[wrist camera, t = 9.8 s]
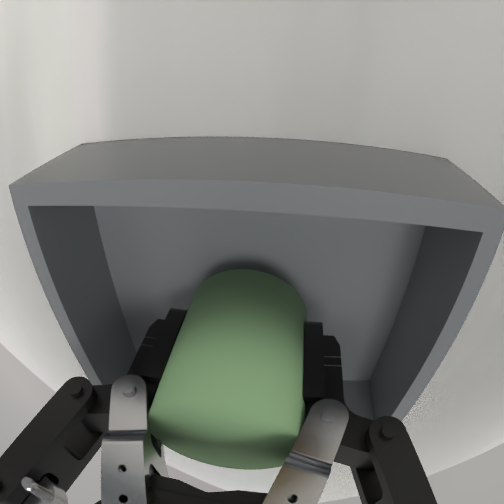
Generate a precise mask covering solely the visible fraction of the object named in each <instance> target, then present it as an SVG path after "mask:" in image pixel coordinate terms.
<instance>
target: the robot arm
mask: <svg viewBox="0 0 504 504" xmlns="http://www.w3.org/2000/svg"><path fill="white" fill-rule="evenodd" d="M187 311H188V310H183V309H175V308H171V309H170V310H169V312H168V314H167V316H166V319H165V320H164V319H157V320H156V321H155V322H154V323H153V324H152V325H151V326H150V327H149V329H148V331H147V333H146V335H145V338H144V339H143V341H142V343H141V346H140V348H139V350H138V352H137V354H136V356H135V358H134V360H133V363H132V365H131V367H130V369H129V371H128V373H127V375H124V376H121V377H119V378H118V379H117V380H116V381H115V382H114V383H113V384H109V385H92V384H91V382H90V381H89V380H88V379H86V378H84V377H74V378H71V379H69V380H68V381H67V382H66V383H65V384H64V385H63V386H62V387H61V388H60V389H59V390H58V391H57V392H56V394H55V395H54V396H53V397H52V398H51V399H50V400H49V401H48V403H47V404H46V405H45V406H44V407H43V408H42V409H41V410H40V412H39V413H38V414H37V415H36V416H35V417H34V418H33V420H32V421H31V422H30V423H29V424H28V426H27V427H26V428H25V429H24V430H23V431H22V432H21V434H20V435H19V436H18V437H17V438H16V439H15V441H14V442H13V443H12V444H11V445H10V447H9V448H8V449H7V450H6V451H5V452H4V454H3V455H2V456H1V457H0V504H68V498H67V495H66V492H67V490H68V489H69V488H70V486H71V485H72V484H73V482H74V481H75V480H76V478H77V477H78V476H79V475H80V473H81V472H82V470H83V469H84V468H85V467H86V465H87V464H88V463H89V461H90V460H91V459H92V457H93V456H94V455H95V454H96V452H97V451H98V450H99V448H100V447H101V446H102V451H101V500H100V501H98V502H97V503H95V504H317V503H318V501H319V498H320V496H321V494H322V492H323V489H324V487H325V485H326V482H327V480H328V477H329V475H330V471H331V466H332V463H333V461H334V462H337V463H341V464H344V465H347V466H350V468H351V471H352V474H353V477H354V480H355V483H356V486H357V489H358V493H359V496H360V499H361V502H362V504H437V502H436V500H435V497H434V494H433V492H432V489H431V487H430V484H429V482H428V480H427V477H426V474H425V472H424V470H423V467H422V465H421V462H420V460H419V458H418V455H417V453H416V451H415V448H414V446H413V444H412V442H411V439H410V437H409V435H408V432H407V430H406V428H405V426H404V424H403V423H402V422H401V421H400V420H399V419H397V418H395V417H392V416H382V417H379V418H377V419H376V420H371V419H368V418H364V417H361V416H358V415H356V414H354V413H353V412H351V411H350V410H349V409H348V407H347V406H346V404H345V401H344V391H343V376H342V362H341V350H340V345H339V343H338V341H337V340H336V338H335V336H329V335H323V323H322V322H311V321H305V324H304V380H303V400H304V402H305V406H306V420H305V422H304V425H303V427H302V429H301V431H300V433H299V435H298V438H297V440H296V442H295V444H294V446H293V448H292V450H291V452H290V454H289V456H288V457H287V458H286V460H285V462H284V464H283V466H282V468H281V470H280V472H279V474H278V476H277V477H276V479H275V481H274V483H273V485H272V487H271V489H270V491H269V492H268V493H258V492H248V491H240V490H236V491H224V492H204V491H202V490H200V489H197V488H195V487H193V486H191V485H189V484H186V483H184V482H182V481H180V480H176V479H172V478H169V475H168V470H167V467H166V463H165V458H164V446H163V443H162V442H161V440H158V439H156V438H155V437H154V436H153V435H152V434H151V431H150V420H149V418H148V413H149V410H150V408H151V405H152V402H153V399H154V397H155V394H156V391H157V389H158V386H159V383H160V381H161V378H162V375H163V373H164V370H165V367H166V365H167V362H168V360H169V357H170V354H171V352H172V349H173V346H174V344H175V341H176V339H177V336H178V334H179V331H180V328H181V326H182V323H183V321H184V318H185V316H186V313H187Z"/></svg>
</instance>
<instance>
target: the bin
mask: <svg viewBox="0 0 504 504" xmlns="http://www.w3.org/2000/svg"><path fill="white" fill-rule="evenodd" d="M9 189H10V193H11V197H12V200H13V204H14V208H15V211H16V214H17V218H18V221H19V224H20V227H21V231H22V234H23V237H24V240H25V243H26V245H27V248H28V251H29V254H30V257H31V259H32V262H33V265H34V267H35V270H36V273H37V275H38V278H39V280H40V283H41V285H42V287H43V290H44V292H45V294H46V297H47V299H48V301H49V304H50V306H51V308H52V310H53V312H54V314H55V317H56V319H57V321H58V323H59V325H60V327H61V329H62V331H63V333H64V335H65V337H66V339H67V341H68V343H69V345H70V347H71V349H72V351H73V352H74V354H75V356H76V358H77V360H78V362H79V363H80V365H81V367H82V369H83V370H84V372H85V374H86V376H87V377H88V379H89V381H90V382H91V384H92V385H109V384H113V383H114V382H115V381H116V380H117V379H118V378H119V377H121V376H124V375H127V373H128V371H129V369H130V367H131V365H132V363H133V360H134V358H135V356H136V354H137V352H138V350H139V348H140V346H141V343H142V341H143V339H144V338H145V335H146V333H147V331H148V329H149V327H150V326H151V325H152V324H153V323H154V322H155V321H156V320H157V319H164V320H165V319H166V316H167V314H168V312H169V310H170V309H171V308H175V309H183V310H188V308H189V306H190V303H191V301H192V298H193V296H194V293H195V292H196V290H197V288H198V287H199V286H200V285H201V284H202V283H203V282H204V281H205V280H206V279H208V278H209V277H211V276H213V275H215V274H217V273H220V272H223V271H228V270H235V269H250V270H257V271H261V272H265V273H268V274H271V275H274V276H276V277H278V278H280V279H282V280H283V281H285V282H286V283H288V284H289V285H290V286H292V287H293V288H294V289H295V290H296V291H297V292H298V294H299V295H300V297H301V298H302V300H303V302H304V304H305V307H306V311H307V321H311V322H322V323H323V335H329V336H335V338H336V340H337V341H338V343H339V345H340V350H341V362H342V376H343V391H344V401H345V404H346V406H347V407H348V409H349V410H350V411H351V412H353V413H354V414H356V415H358V416H361V417H364V418H368V419H371V420H376V419H377V418H379V417H382V416H392V417H395V418H397V419H399V420H400V421H402V420H403V419H404V417H405V416H406V415H407V413H408V412H409V411H410V409H411V408H412V406H413V405H414V404H415V402H416V401H417V399H418V398H419V396H420V395H421V393H422V392H423V390H424V389H425V387H426V386H427V384H428V383H429V381H430V380H431V378H432V377H433V375H434V374H435V372H436V370H437V369H438V367H439V366H440V364H441V362H442V361H443V359H444V357H445V356H446V354H447V352H448V350H449V349H450V347H451V345H452V343H453V342H454V340H455V338H456V336H457V334H458V333H459V331H460V329H461V327H462V325H463V323H464V321H465V319H466V317H467V315H468V313H469V311H470V309H471V307H472V305H473V303H474V301H475V299H476V297H477V295H478V293H479V290H480V288H481V286H482V284H483V281H484V279H485V277H486V275H487V272H488V270H489V267H490V265H491V262H492V260H493V257H494V255H495V252H496V250H497V247H498V244H499V242H500V239H501V236H502V233H503V230H504V205H503V204H501V203H500V202H499V201H498V200H497V199H496V198H495V197H494V196H492V195H491V194H490V193H489V192H488V191H487V190H485V189H484V188H483V187H482V186H481V185H480V184H478V183H477V182H476V181H475V180H473V179H472V178H471V177H470V176H468V175H467V174H466V173H465V172H463V171H462V170H461V169H460V168H458V167H457V166H456V165H454V164H453V163H452V162H450V161H449V160H448V159H445V158H440V157H434V156H429V155H423V154H417V153H411V152H405V151H399V150H392V149H385V148H377V147H370V146H361V145H353V144H343V143H333V142H322V141H310V140H296V139H279V138H255V137H172V138H149V139H132V140H118V141H106V142H96V143H86V144H81V145H79V146H77V147H75V148H73V149H71V150H69V151H67V152H65V153H63V154H62V155H60V156H58V157H56V158H54V159H52V160H51V161H49V162H47V163H45V164H44V165H42V166H40V167H38V168H37V169H35V170H33V171H32V172H30V173H28V174H27V175H25V176H23V177H22V178H20V179H18V180H17V181H15V182H14V183H12V184H10V185H9Z"/></svg>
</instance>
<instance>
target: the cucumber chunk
mask: <svg viewBox="0 0 504 504" xmlns="http://www.w3.org/2000/svg"><path fill="white" fill-rule="evenodd" d="M305 321H307V311H306V307H305V304H304V302H303V300H302V298H301V297H300V295H299V294H298V292H297V291H296V290H295V289H294V288H293V287H292V286H290V285H289V284H288V283H286V282H285V281H283V280H282V279H280V278H278V277H276V276H274V275H271V274H268V273H265V272H261V271H257V270H250V269H235V270H228V271H223V272H220V273H217V274H215V275H213V276H211V277H209V278H208V279H206V280H205V281H204V282H203V283H202V284H201V285H200V286H199V287H198V288H197V290H196V292H195V293H194V296H193V298H192V301H191V303H190V306H189V308H188V311H187V313H186V316H185V318H184V321H183V323H182V326H181V328H180V331H179V334H178V336H177V339H176V341H175V344H174V346H173V349H172V352H171V354H170V357H169V360H168V362H167V365H166V367H165V370H164V373H163V375H162V378H161V381H160V383H159V386H158V389H157V391H156V394H155V397H154V399H153V402H152V405H151V408H150V410H149V413H148V418H149V420H150V431H151V434H152V435H153V436H154V437H155V438H156V439H158V440H161V442H162V443H163V444H164V445H165V446H167V447H168V448H170V449H172V450H173V451H175V452H177V453H179V454H181V455H184V456H186V457H188V458H191V459H194V460H197V461H200V462H203V463H207V464H211V465H215V466H220V467H226V468H234V469H267V468H274V467H279V466H283V464H284V462H285V460H286V458H287V457H288V456H289V454H290V452H291V450H292V448H293V446H294V444H295V442H296V440H297V438H298V435H299V433H300V431H301V429H302V427H303V425H304V422H305V420H306V406H305V402H304V400H303V380H304V324H305Z"/></svg>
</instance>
